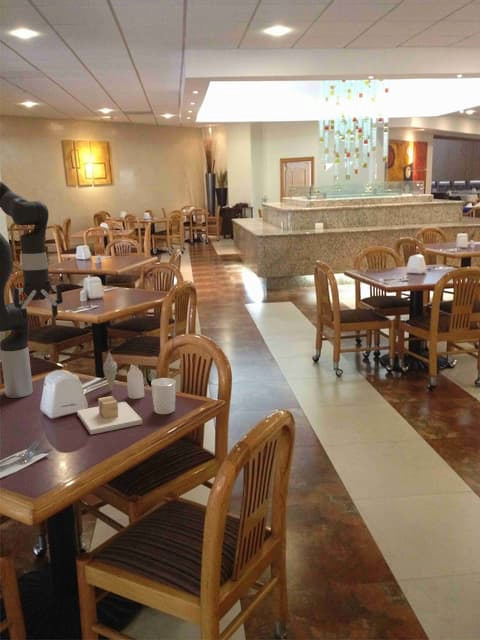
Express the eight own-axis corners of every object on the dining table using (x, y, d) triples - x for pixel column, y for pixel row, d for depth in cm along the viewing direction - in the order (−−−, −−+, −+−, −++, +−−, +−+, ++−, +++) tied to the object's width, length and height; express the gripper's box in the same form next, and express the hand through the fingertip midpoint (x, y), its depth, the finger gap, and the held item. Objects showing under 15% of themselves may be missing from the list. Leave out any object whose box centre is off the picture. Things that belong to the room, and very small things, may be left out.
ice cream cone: (110, 394, 204) (108, 353, 201) (101, 391, 207) (98, 351, 204) (121, 390, 208) (119, 350, 205) (112, 387, 211) (109, 348, 208)
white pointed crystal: (145, 362, 200) (136, 367, 195) (147, 395, 203) (137, 400, 198) (132, 360, 203) (122, 364, 198) (134, 392, 205) (124, 397, 201)
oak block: (99, 413, 183) (98, 398, 182) (113, 410, 185) (112, 395, 184) (104, 419, 177) (103, 404, 176) (118, 416, 179) (117, 401, 178)
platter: (77, 414, 186) (77, 410, 185) (125, 405, 193) (125, 401, 192) (90, 434, 170) (90, 429, 170) (142, 423, 177) (142, 419, 177)
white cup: (165, 404, 193) (163, 376, 191) (181, 409, 188) (180, 381, 186) (147, 411, 187) (146, 382, 185) (164, 417, 182) (162, 387, 180)
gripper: (56, 264, 182) (61, 314, 186) (9, 267, 176) (14, 319, 179) (61, 267, 176) (65, 318, 179) (12, 270, 169) (17, 323, 173)
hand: (40, 318), depth 179 cm, fingers open, 8 cm apart
